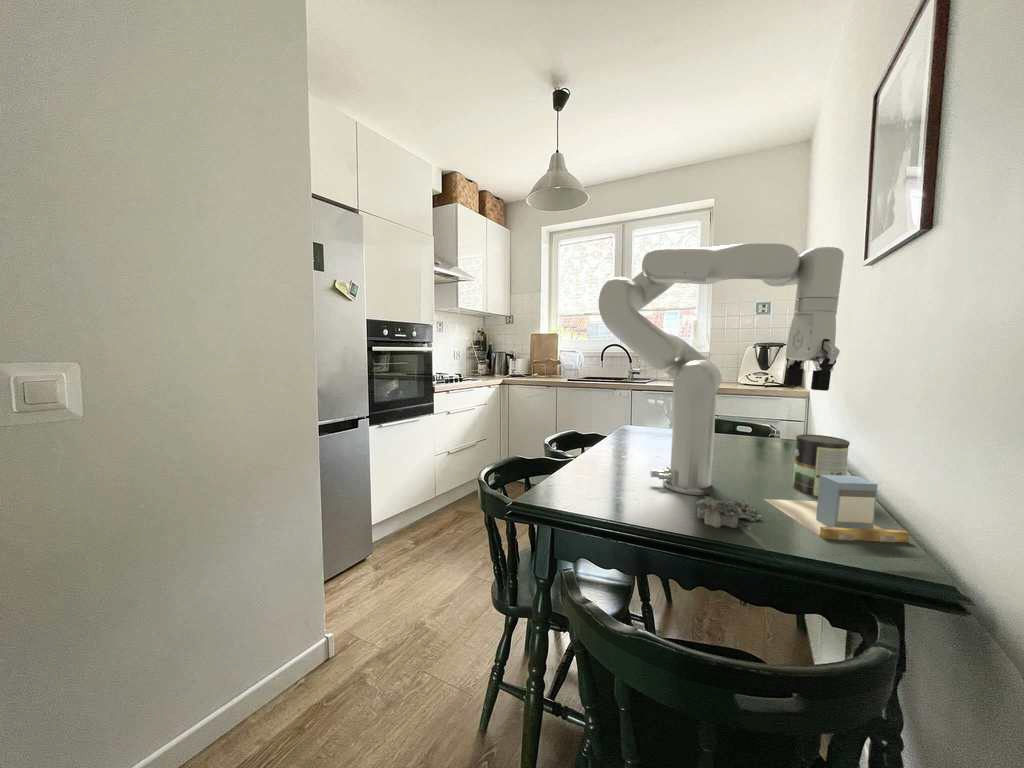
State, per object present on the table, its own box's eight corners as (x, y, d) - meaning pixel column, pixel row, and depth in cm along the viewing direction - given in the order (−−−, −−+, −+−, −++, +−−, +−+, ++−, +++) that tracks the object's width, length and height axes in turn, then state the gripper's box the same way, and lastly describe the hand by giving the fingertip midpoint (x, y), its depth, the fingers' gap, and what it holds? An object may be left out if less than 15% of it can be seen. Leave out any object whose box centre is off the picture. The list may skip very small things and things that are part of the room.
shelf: (823, 547, 76) (825, 529, 76) (762, 505, 96) (763, 491, 96) (908, 550, 75) (910, 533, 75) (829, 508, 95) (830, 494, 95)
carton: (816, 519, 85) (819, 474, 84) (852, 521, 84) (857, 476, 84) (835, 531, 79) (839, 483, 79) (874, 532, 79) (879, 484, 78)
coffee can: (786, 495, 103) (791, 437, 102) (797, 486, 111) (801, 432, 109) (839, 507, 96) (845, 445, 95) (847, 497, 103) (853, 439, 102)
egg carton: (706, 528, 84) (707, 508, 83) (693, 513, 91) (694, 494, 91) (763, 531, 83) (764, 510, 83) (745, 515, 90) (746, 496, 90)
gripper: (776, 310, 101) (768, 383, 103) (821, 303, 84) (811, 391, 86) (810, 311, 100) (801, 384, 102) (863, 305, 83) (851, 393, 85)
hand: (805, 387), depth 94 cm, fingers open, 9 cm apart
